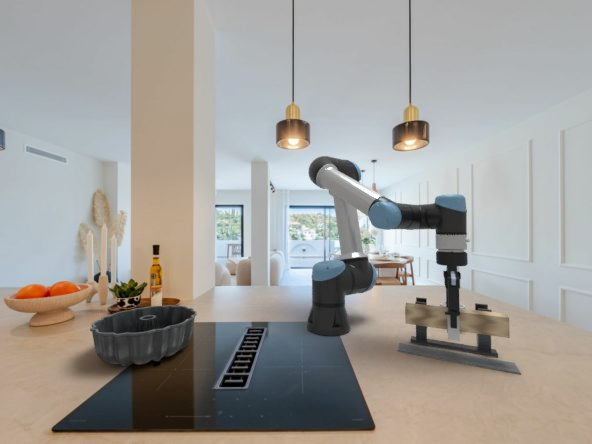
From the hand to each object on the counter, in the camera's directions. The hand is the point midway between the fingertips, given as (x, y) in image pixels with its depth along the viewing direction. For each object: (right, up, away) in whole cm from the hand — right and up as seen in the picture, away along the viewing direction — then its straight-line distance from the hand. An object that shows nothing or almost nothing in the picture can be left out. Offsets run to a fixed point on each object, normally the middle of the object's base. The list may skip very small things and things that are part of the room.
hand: (453, 336), depth 74 cm
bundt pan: (-86, -6, +3) cm, 86 cm away
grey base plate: (0, -6, 0) cm, 6 cm away
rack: (+3, -6, +6) cm, 9 cm away
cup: (+13, -7, +22) cm, 27 cm away
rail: (0, +2, 0) cm, 2 cm away
